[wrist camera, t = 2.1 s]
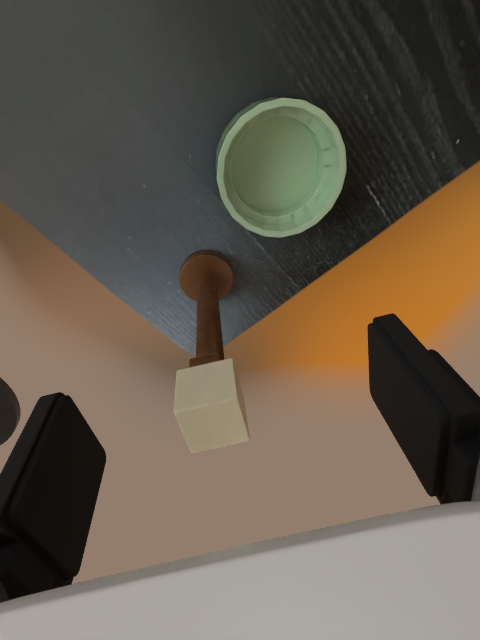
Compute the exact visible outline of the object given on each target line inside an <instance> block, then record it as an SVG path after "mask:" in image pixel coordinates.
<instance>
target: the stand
mask: <svg viewBox="0 0 480 640" xmlns="http://www.w3.org/2000/svg"><path fill="white" fill-rule="evenodd" d="M180 284H181V287H182V289H183V291H184V292H185V294H186V295H187V296H188V297H190V298H191V299H193V300H195V301H197V338H196V358H193V359H190V367H195V366H199V365H204V364H208V363H212V362H217V361H221V360H224V353H223V341H222V331H221V320H220V310H219V300H220V299H222V298H223V297H225V296H226V295H227V294H228V293H229V291H230V290H231V287H232V285H233V273H232V268H231V265H230V263H229V261H228V260H227V259H226V258H225V257H224V256H223V255H221V254H220V253H218V252H215V251H211V250H201V251H197V252H195V253H193V254H191V255H190V256H188V257H187V258H186V259H185V261H184V262H183V264H182V267H181V271H180ZM190 367H189V368H190Z"/></svg>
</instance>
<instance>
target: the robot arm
mask: <svg viewBox="0 0 480 640" xmlns="http://www.w3.org/2000/svg"><path fill="white" fill-rule="evenodd" d="M368 351H369V352H368V354H369V384H370V393H371V396H372V398H373V400H374V402H375V404H376V405H377V407H378V409H379V410H380V412H381V414H382V416H383V418H384V419H385V421H386V423H387V425H388V426H389V428H390V430H391V431H392V433H393V435H394V437H395V438H396V440H397V442H398V443H399V445H400V447H401V449H402V450H403V452H404V454H405V456H406V457H407V459H408V461H409V462H410V464H411V466H412V468H413V469H414V471H415V473H416V475H417V476H418V478H419V480H420V482H421V483H422V485H423V487H424V489H425V490H426V492H427V493H428V495H429V496H431V497H432V496H436V497H437V499H438V500H439V502H440V504H441V505H435V506H428V507H422V508H418V509H413V510H408V511H402V512H397V513H393V514H387V515H382V516H377V517H372V518H368V519H363V520H358V521H353V522H349V523H344V524H339V525H335V526H330V527H326V528H321V529H317V530H312V531H307V532H303V533H298V534H293V535H289V536H284V537H280V538H275V539H271V540H266V541H262V542H257V543H252V544H248V545H244V546H239V547H234V548H230V549H225V550H221V551H216V552H212V553H208V554H203V555H199V556H194V557H190V558H185V559H181V560H176V561H172V562H167V563H163V564H159V565H155V566H150V567H146V568H141V569H137V570H133V571H128V572H124V573H119V574H115V575H110V576H106V577H102V578H97V579H93V580H89V581H85V582H80V583H76V584H72V580H73V577H74V576H76V575H77V574H78V572H79V570H80V566H81V562H82V558H83V554H84V550H85V546H86V541H87V537H88V533H89V529H90V525H91V521H92V517H93V513H94V509H95V504H96V500H97V496H98V492H99V488H100V483H101V479H102V475H103V471H104V467H105V463H106V454H105V450H104V449H103V447H102V445H101V444H100V442H99V441H98V439H97V438H96V436H95V434H94V433H93V432H92V430H91V428H90V427H89V425H88V424H87V422H86V420H85V419H84V417H83V416H82V414H81V413H80V411H79V409H78V408H77V406H76V405H75V403H74V402H73V400H72V399H71V397H70V396H68V395H66V396H65V395H64V394H63V393H60V392H59V393H54V394H50V395H46V396H42V397H40V399H39V400H38V402H37V403H36V406H35V407H34V409H33V411H32V414H31V415H30V417H29V419H28V421H27V423H26V425H25V427H24V429H23V431H22V433H21V435H20V437H19V439H18V441H17V443H16V445H15V446H14V448H13V450H12V452H11V455H10V456H9V458H8V460H7V462H6V464H5V466H4V468H3V470H2V472H1V474H0V640H480V397H479V396H478V395H477V394H476V393H475V392H474V391H473V389H472V388H471V387H470V386H469V385H468V384H467V383H466V382H465V381H464V380H463V379H462V378H461V377H460V375H459V374H457V372H456V371H455V370H454V369H453V368H452V367H451V366H450V365H449V364H448V363H447V362H446V361H445V359H444V358H443V357H442V356H441V355H440V354H439V353H438V352H436V351H435V350H432V349H431V350H427V349H426V348H425V347H424V346H423V345H422V344H421V343H420V341H419V340H418V339H417V338H416V337H415V336H414V335H413V334H412V333H411V331H410V330H409V329H408V328H407V327H406V326H405V325H404V324H403V323H402V321H401V320H400V319H399V318H398V317H397V316H396V315H395V314H388V315H384V316H380V317H376V318H374V319H373V323H371V324H369V325H368Z"/></svg>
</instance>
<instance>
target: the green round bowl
mask: <svg viewBox="0 0 480 640" xmlns="http://www.w3.org/2000/svg"><path fill="white" fill-rule="evenodd" d="M346 169H347V168H346V149H345V145H344V142H343V140H342V137H341V134H340V132H339V129H338V128H337V126H336V125H335V123H334V122H333V121H332V120H331V119H330V117H329V116H328V115H327V114H326V113H325V111H323V110H322V109H320V108H318V107H316V106H314V105H313V104H311V103H309V102H307V101H304V100H298V99H290V98H282V97H271V98H267V99H263V100H259V101H255V102H253V103H251V104H250V105H248V106H247V107H245V108H244V109H242V110H241V111H239V112H238V113H237V114H236V115H235V116H234V118H233V119H232V120H231V121H230V123H229V124H228V125H227V127H226V128H225V129H224V131H223V133H222V136H221V139H220V141H219V144H218V147H217V150H216V162H215V173H216V178H217V182H218V186H219V191H220V195H221V199H222V201H223V203H224V205H225V206H226V208H227V210H228V211H229V213H230V215H231V216H232V217H233V218H234V219H235V220H236V221H237V222H239V223H240V224H241V225H242V226H243V227H244V228H245V229H247V230H250V231H252V232H254V233H257V234H259V235H262V236H267V237H286V236H290V235H294V234H298V233H301V232H303V231H305V230H306V229H308V228H310V227H312V226H313V225H315V224H317V223H318V222H319V221H320V220H321V219H322V218H323V217H324V216H325V215H326V214H327V213H328V212H329V211H330V210H331V208H332V207H333V205H334V203H335V201H336V200H337V198H338V196H339V194H340V192H341V190H342V187H343V183H344V178H345V174H346Z"/></svg>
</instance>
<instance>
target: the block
mask: <svg viewBox="0 0 480 640" xmlns="http://www.w3.org/2000/svg"><path fill="white" fill-rule="evenodd" d="M174 415H175V417H176V420H177V422H178V424H179V426H180V429H181V431H182V433H183V435H184V438H185V440H186V442H187V445H188V447H189V449H190V451H191V453H192V454H193V453H197V452H201V451H206V450H211V449H215V448H220V447H224V446H229V445H233V444H238V443H242V442H247V441H250V437H249V430H248V423H247V417H246V410H245V403H244V397H243V394H242V390H241V387H240V383H239V380H238V376H237V373H236V370H235V366H234V362H233V359H232V358H230V359H226V360H221V361H217V362H212V363H208V364H204V365H199V366H195V367H190V368H186V369H182V370H177V373H176V387H175V400H174Z"/></svg>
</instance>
